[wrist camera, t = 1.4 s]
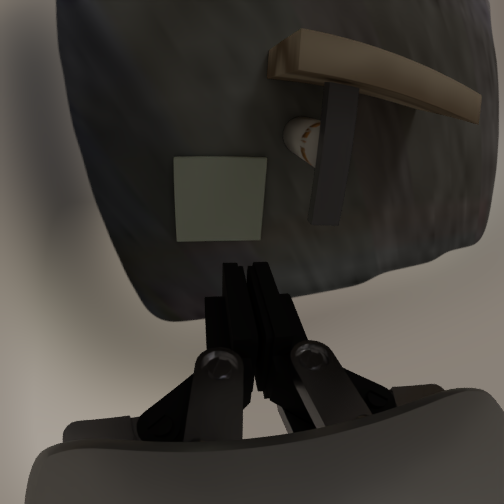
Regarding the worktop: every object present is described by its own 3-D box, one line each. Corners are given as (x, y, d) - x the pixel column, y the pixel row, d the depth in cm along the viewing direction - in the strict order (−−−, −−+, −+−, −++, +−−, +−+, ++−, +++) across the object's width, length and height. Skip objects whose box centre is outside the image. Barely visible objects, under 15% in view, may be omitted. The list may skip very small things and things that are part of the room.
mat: (174, 156, 26) (173, 157, 26) (266, 157, 28) (267, 158, 27) (177, 238, 31) (176, 241, 30) (259, 237, 32) (260, 240, 32)
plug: (284, 114, 26) (308, 120, 20) (322, 118, 26) (354, 127, 20) (281, 153, 28) (302, 170, 22) (318, 156, 28) (347, 174, 22)
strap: (324, 82, 18) (329, 81, 17) (353, 87, 18) (359, 88, 17) (307, 220, 23) (311, 225, 23) (333, 220, 24) (338, 225, 23)
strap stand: (269, 50, 22) (301, 28, 14) (418, 86, 25) (481, 95, 16) (266, 78, 24) (298, 69, 15) (416, 109, 26) (478, 124, 18)
